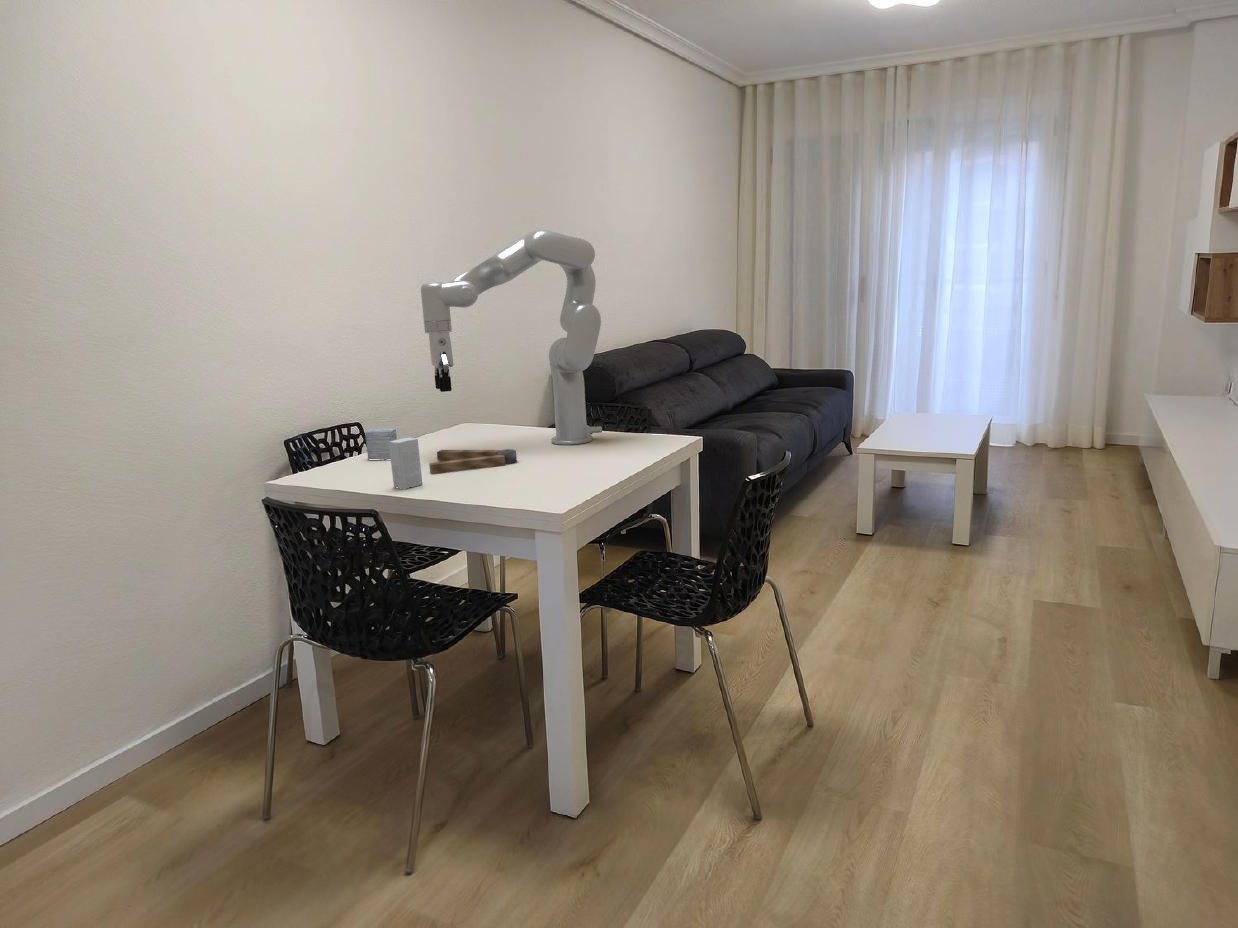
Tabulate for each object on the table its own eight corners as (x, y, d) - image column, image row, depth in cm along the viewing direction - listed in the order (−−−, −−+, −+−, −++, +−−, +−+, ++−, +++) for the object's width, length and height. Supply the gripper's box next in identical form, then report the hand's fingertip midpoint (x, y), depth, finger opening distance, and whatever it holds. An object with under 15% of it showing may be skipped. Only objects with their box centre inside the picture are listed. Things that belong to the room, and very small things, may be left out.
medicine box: (399, 457, 260) (396, 428, 258) (394, 460, 256) (391, 431, 254) (373, 457, 261) (370, 429, 259) (367, 461, 257) (364, 431, 255)
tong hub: (514, 459, 248) (513, 448, 247) (519, 463, 242) (518, 452, 242) (428, 470, 240) (427, 458, 239) (431, 474, 234) (430, 462, 234)
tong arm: (500, 458, 249) (500, 449, 248) (496, 460, 246) (496, 452, 246) (442, 458, 254) (441, 449, 253) (437, 460, 251) (436, 451, 250)
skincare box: (412, 483, 225) (407, 437, 223) (423, 485, 222) (418, 438, 220) (392, 488, 221) (387, 441, 218) (403, 490, 218) (398, 442, 215)
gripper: (456, 327, 242) (462, 392, 246) (446, 325, 258) (451, 385, 262) (429, 329, 240) (435, 394, 244) (420, 327, 256) (425, 388, 260)
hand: (443, 389), depth 253 cm, fingers open, 6 cm apart
